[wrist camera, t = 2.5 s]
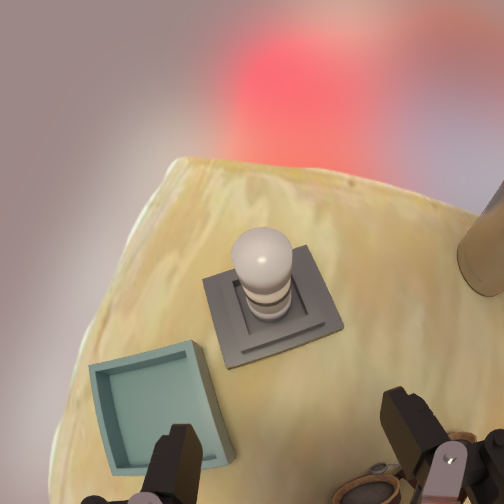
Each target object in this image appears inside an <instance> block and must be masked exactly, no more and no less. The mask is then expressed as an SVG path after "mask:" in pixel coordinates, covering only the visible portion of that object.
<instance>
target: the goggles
mask: <svg viewBox="0 0 504 504" xmlns="http://www.w3.org/2000/svg"><path fill="white" fill-rule="evenodd" d="M448 436H449V438H450V439H451V440H452V441H457V442H460V443H462V444H463V445H466V444H471V443H475V442H477V439H476V436H475V435H473V434H472V433H468V432H458V433H452V434H449V435H448ZM390 466H399V467H400V466H401V465H400V464H388V465H387V464H386V463H378V464H375V465H374V466H372V468H371V473H372V474H375V475H368V476H365V477H362V478H358V479H356V480H354V481H352V482H350V483H347V484H346V485H344V486H343V487H342V488H340V489H339V490H338V491H337V492H336V493H335V495H334V496H333V498H332V504H399V503H400V500H401V494H400V482H399V480H400V479H401V478H404V479H405V480H407V479H406V476H405V474H404V472H403V470H401V471H399V472H398V473H397V474H395V475H390V474H381V473H383V472H384V471H386V469H387V468H388V467H390ZM408 482H409V484H410V485H411V486H412V487H413V488H414V489H416V486H417V484H418V482H417V479H416V478H413V479H411V480H409V481H408ZM467 496H468V495H467V493H466V491H465V489H464V487H463V488H460V492H459V496H458V499H459V500H460V501H461V503H460V504H463V503H464V501H465V499H466V498H467Z"/></svg>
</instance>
